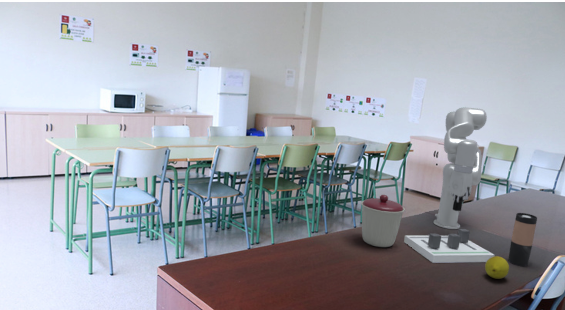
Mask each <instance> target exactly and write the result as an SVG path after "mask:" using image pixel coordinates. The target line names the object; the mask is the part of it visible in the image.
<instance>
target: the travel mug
mask: <svg viewBox="0 0 565 310" xmlns="http://www.w3.org/2000/svg"><path fill="white" fill-rule="evenodd" d="M515 214H516V215H515V220H514V225H513V230H512V235H511V239H510V244H509V245H510V246H509V251H508V252H509V253H508V259H507V260H508V261H507V262H509V264H512V265H516V266H520V267H527V266H528V265H529V261H530V256H531V252H532V249H533V243H534V237H535V233H536V229H537V228H536V227H537V221H538V217H537V216H536V215H533V214H529V213H525V212H516V213H515Z"/></svg>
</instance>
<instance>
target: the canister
mask: <svg viewBox="0 0 565 310" xmlns="http://www.w3.org/2000/svg"><path fill="white" fill-rule="evenodd" d="M360 205H361V207H362V209H361V215H362V216H361V235H362V240H363V241H364V242H365V243H366V244H368V245H370V246H373V247H377V248H389V247H392V246H393V245H394V243H396V242H395V241H396V240H397V236H398V232H399V229H400V225H401V220H402V218H403V213H405V212H406V211H405V210H406V209H405V206H402V204H400V203H399V202H397V201H393V200H390V199H389V196H388V195H386V194H381V195H379V198H377V197H376V198H373V197H372V198H367V199H364V200H362V201H360Z"/></svg>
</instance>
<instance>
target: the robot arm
mask: <svg viewBox="0 0 565 310" xmlns="http://www.w3.org/2000/svg"><path fill="white" fill-rule="evenodd" d="M487 118H488V117H487V112H486V111H485V110H484V109H482V108H474V107H466V106H465V107H459V108H458V109H456V110H455V111H454V110H453V111H449V112H448V113H447V115H446V116H445V131H446V132H445V135H444V140H443V141H444V142H443V149H444V152H445V153H446V154H447V155H446V156H447V160H448V162H449V163H447V164H445V165H444V167H442V168H443V169H442V185H441V187H442V188H441V193H440V194H441V195H440V198H439V199H440V200H439V205H438V213H435V214H434V216H435V217H436V218H435V219H434V220H433V224H434V225H436V226H438V227H440V228H443V229H448V230H458V229H461V225H460V223H458V220H459V214H460V212H461V211H462V206H463V203H464V202H465V201H468V200H469V197H470V196H471V194H472V189H473V187H472V186H478V185H479V184H480V182H481V179H482V160H483V159H482V158H483V157H482V151H481V149H480V148H479V144H478V142H477V141H476V140H473V139H467V137H470V136H471V135H472V134H473V132H474V131H479V130H481V129H482V128H484V126H485V125H486V123H487Z"/></svg>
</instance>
